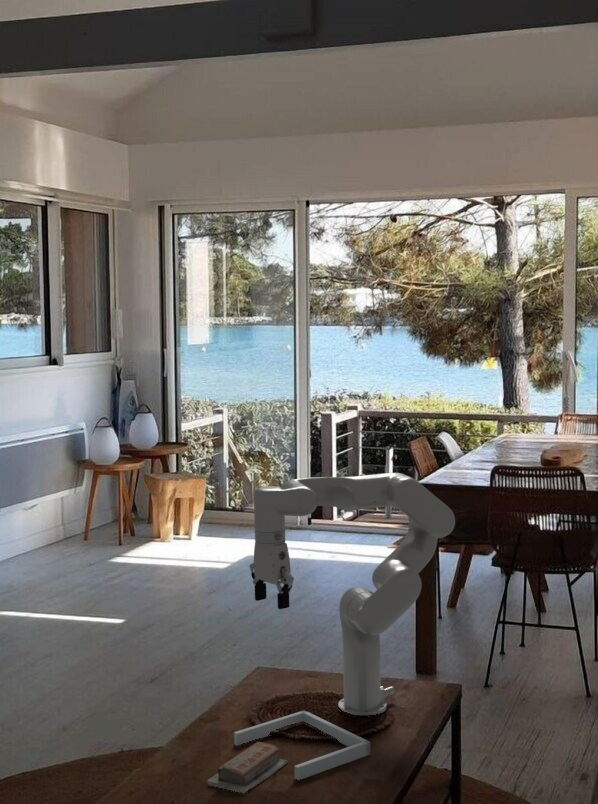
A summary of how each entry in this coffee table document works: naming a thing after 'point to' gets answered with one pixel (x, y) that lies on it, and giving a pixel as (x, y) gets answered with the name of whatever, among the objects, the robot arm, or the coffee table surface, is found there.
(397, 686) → the coffee table surface
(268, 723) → the open frame
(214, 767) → the coffee table surface
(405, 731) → the coffee table surface
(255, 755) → the packaged product
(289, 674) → the coffee table surface
